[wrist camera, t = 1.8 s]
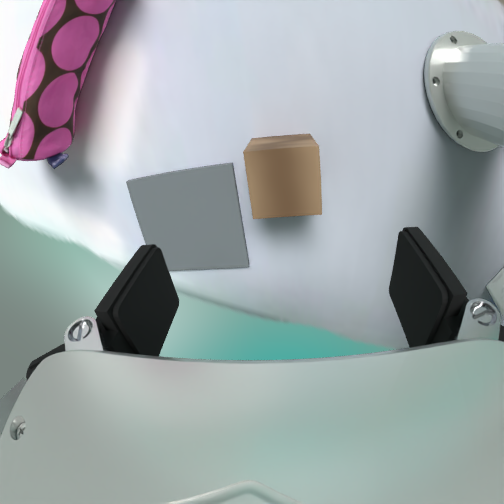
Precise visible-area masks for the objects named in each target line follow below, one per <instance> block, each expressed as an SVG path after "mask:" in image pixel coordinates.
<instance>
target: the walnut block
mask: <svg viewBox="0 0 504 504" xmlns="http://www.w3.org/2000/svg"><path fill="white" fill-rule="evenodd" d="M243 153H244V160H245V167H246V174H247V180H248V187H249V194H250V201H251V208H252V215H253V219H261V218H274V217H289V216H304V215H321V214H322V199H321V174H320V156H319V146H318V144H317V143H316V142H315V140H314V139H313V138H312V136H311V135H310V134H298V135H284V136H272V137H262V138H252V139H251V141H250V142H249V144H248V146H247V147H246V149H245V150H244V152H243Z"/></svg>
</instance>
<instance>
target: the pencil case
mask: <svg viewBox="0 0 504 504" xmlns="http://www.w3.org/2000/svg"><path fill="white" fill-rule="evenodd" d="M115 1H116V0H44V1H43V3H42V5H41V8H40V10H39V13H38V16H37V19H36V21H35V23H34V26H33V28H32V32H31V34H30V37H29V39H28V42H27V44H26V47H25V50H24V53H23V56H22V59H21V62H20V65H19V68H18V73H17V82H16V88H15V98H14V104H13V108H12V113H11V119H10V127H9V130H8V133H7V136H6V138H4V139H3V140H2V141H1V142H0V153H1V154H2V156H1V157H0V164H1V165H3V166H5V167H6V168H10V167H11V166H12V165H13V164H14V163H15V162H16V160H21V161H37V160H44V159H47V161H48V163H49V164H50V165H51V166H52V167H53V168H54V169H55V168H56V167H58V166H59V165H61V164H62V163H63V162H64V161H65V160H66V159H67V158H68V157H69V155H68V154H62V152H63V151H65V150H66V149H67V148H68V147H69V146H70V145H71V144H72V141H73V137H74V132H75V108H76V104H77V101H78V97H79V94H80V91H81V88H82V85H83V82H84V79H85V77H86V74H87V71H88V68H89V65H90V63H91V60H92V58H93V55H94V53H95V50H96V48H97V45H98V42H99V39H100V37H101V35H102V34H103V32H104V30H105V27H106V25H107V22H108V19H109V17H110V14H111V12H112V9H113V7H114V4H115Z"/></svg>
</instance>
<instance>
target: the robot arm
mask: <svg viewBox="0 0 504 504" xmlns="http://www.w3.org/2000/svg"><path fill="white" fill-rule="evenodd" d="M424 77H425V87H426V92H427V97H428V100H429V103H430V106H431V109H432V111H433V113H434V115H435V117H436V119H437V121H438V122H439V124H440V125H441V127H442V129H443V130H444V131H445V132H446V133H447V134H448V136H449V137H450V138H452V139H453V140H454V141H455V142H456V143H458V144H460V145H461V146H463V147H465V148H467V149H470V150H472V151H477V152H487V151H491V150H493V149H495V148H497V147H498V146H500V147H502V148H504V43H492V44H488V43H486V42H485V41H484V40H482V39H481V38H480V37H478V36H476V35H474V34H472V33H468V32H464V31H453V32H448V33H445V34H443V35H441V36H439V37H438V38H437V39H436V40H435V41H434V42H433V43H432V45H431V47H430V48H429V50H428V53H427V56H426V59H425V68H424ZM432 80H433V81H432ZM389 294H390V297H391V299H392V302H393V304H394V307H395V309H396V312H397V314H398V317H399V319H400V322H401V325H402V327H403V330H404V333H405V335H406V338H407V341H408V344H409V347H410V348H404V349H397V350H390V351H384V352H376V353H368V354H359V355H350V356H339V357H326V358H313V359H293V360H254V361H253V360H248V361H247V360H206V359H186V358H172V357H159V354H160V351H161V349H162V346H163V343H164V341H165V338H166V336H167V334H168V331H169V329H170V326H171V324H172V321H173V318H174V316H175V314H176V311H177V309H178V306H179V298H178V295H177V293H176V290H175V287H174V285H173V282H172V279H171V276H170V273H169V271H168V268H167V265H166V262H165V259H164V256H163V253H162V250H161V249H160V248H159V247H157V246H156V245H155V244H151V245H142V246H141V247H140V248H139V249H138V250H137V252H136V253H135V254H134V256H133V257H132V258H131V260H130V261H129V262H128V264H127V265H126V266H125V268H124V269H123V271H122V272H121V273H120V275H119V276H118V278H117V279H116V280H115V282H114V283H113V284H112V286H111V287H110V289H109V290H108V292H107V293H106V295H105V296H104V297H103V299H102V300H101V302H100V303H99V305H98V306H97V308H96V309H95V313H96V315H97V316H98V317H97V318H96V320H95V319H94V318H92V317H82V318H79V319H77V320H75V321H74V322H73V323H72V324H71V325H70V326H69V327H68V328H67V330H66V332H65V336H64V339H65V343H64V344H62V345H60V346H59V347H57V348H55V349H53V350H52V351H50V352H48V353H46V354H44V355H42V356H41V357H39V358H37V359H36V360H34V361H32V362H31V364H30V366H29V368H28V370H27V375H26V378H27V380H26V379H25V378H22V379H21V380H20V381H19V382H18V383H17V384H16V385H15V386H14V387H13V388H12V389H11V390H10V391H8V392H7V393H6V394H5V395H4V396H3V397H2V398H1V399H0V432H1V438H0V504H504V326H502V325H500V323H501V317H500V313H499V311H498V309H497V308H496V307H495V306H494V305H493V304H492V303H491V302H489V301H487V300H484V299H481V298H475V299H472V300H470V301H468V299H467V297H466V295H467V292H466V290H465V289H464V287H463V286H462V285H461V283H460V282H459V280H458V279H457V277H456V276H455V274H454V273H453V272H452V270H451V269H450V267H449V266H448V265H447V263H446V262H445V261H444V259H443V258H442V256H441V255H440V254H439V253H438V251H437V250H436V249H435V247H434V246H433V245H432V244H431V242H430V241H429V240H428V239H427V237H426V236H425V235H424V234H423V232H422V231H421V230H420V229H419V228H418V227H405V228H403V230H402V231H400V232H399V235H398V241H397V248H396V254H395V260H394V265H393V271H392V276H391V281H390V286H389Z"/></svg>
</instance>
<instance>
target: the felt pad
mask: <svg viewBox="0 0 504 504" xmlns="http://www.w3.org/2000/svg"><path fill="white" fill-rule="evenodd" d="M126 183H127V186H128V190H129V193H130V197H131V200H132V203H133V207H134V210H135V213H136V216H137V219H138V222H139V225H140V228H141V231H142V234H143V237H144V240H145V243H146V245H151V244H155V245H156V246H157V247H159V248H160V249H161V250H162V253H163V256H164V259H165V262H166V265H167V268H168V271H173V270H197V269H219V268H239V267H249V259H248V253H247V247H246V241H245V235H244V229H243V223H242V217H241V211H240V205H239V198H238V192H237V186H236V180H235V174H234V168H233V163H226V164H219V165H211V166H204V167H198V168H191V169H185V170H179V171H173V172H167V173H162V174H157V175H151V176H146V177H141V178H137V179H132V180H128V181H127V182H126Z"/></svg>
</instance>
